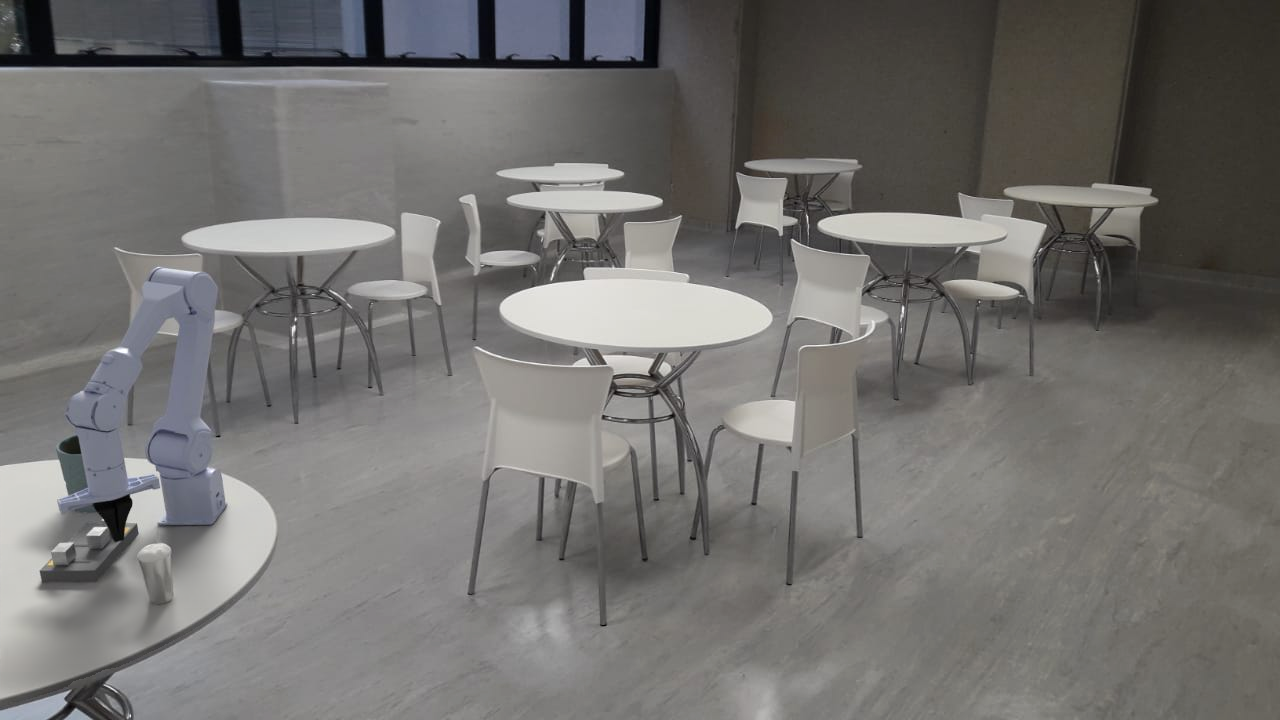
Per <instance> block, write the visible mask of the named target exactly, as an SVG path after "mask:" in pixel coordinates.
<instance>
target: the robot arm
mask: <svg viewBox="0 0 1280 720" xmlns="http://www.w3.org/2000/svg"><path fill="white" fill-rule="evenodd" d="M140 290H141V295H142V300H141V303H140V305H139V306H138V309H137V311H136V313H135V315H134V317H133V319H132V320H131V322H130V324H129V326H128V328H127V331H126V332H125V334H124V337H123V338H122V341H121V343H120V345H119V346H118V347H116V348H112V349H110V350H107V351H106V352H105V354H103V355H102V357H101V358H100V363H99V365H98V366H97V367H96V369H95V371H94V372H93V374H92V376H91V377H90V379H89V381H88V382H87V383H86V386H85V387H84V389H83V390H81V391H79V392H78V393H76V394H73V396H71V397H70V399H69V400H68V402H67V405H66V412H65V413H63V416H64V419H65V421H66V422H67V423H68V424H69V425H70V426H71V427H72V428H73V430H74V435H77V436H78V438H79V443H80V448H81V454H82V459H83V464H84V469H85V474H86V479H87V485H88V488H86V489H84V490H81V491H79V492H77V493H74V494H72V495H67V496H64V497H61V498H58V499H56V501H57V507H58V511H59V512H60V514H61V515H66V514H69V513H70V511H75V509H78V508H82V507H86V506H89V505H92V506H93V507H94V509H95V510H96V511H97V512H96V513H97V514H98V516H99V517H100V518H102V519H103V520H104V521H105V523H106V524H107V526H108V528H109V531H110V533H111V536H112V539H113V540H114V542H119V541H122V540H124V532H125V525H126V523H127V520H128V517H129V515H130V512H131V509H132V508H133V499H132V497H131V495H134V494H138V493H141V492H144V491H148V490H153V491H154V490H158V489H161V491H162V498H163V503H164V509H165V512H164V514H163V515H162V516H161V517H160V519H159V520H158V521H157V523H156V524H157V525H158V526H211V525H213V524H214V523H215V522H216V520H217V519H218V517H219V516H220V515H221V513H222V512H223V510H225V508H226V506H227V505H228V502H227V501H226V497H225V489H224V482H223V476H222V472H221V470H220V469H218V468H214V467H209V465H210V463H211V461H212V458H213V451H214V450H213V444H212V433H213V431H212V430H211V427H209V426H208V424H207V423H205V421H204V420H203V419H202V418H201V414H202V410H203V409H202V408H203V401H204V393H205V387H206V382H207V381H206V380H207V374H208V367H209V361H210V354H211V350H212V349H211V348H212V341H213V334H214V328H215V320H216V314H215V313H216V305H217V299H218V295H219V294H218V292H219V287H218V285H217V284H216V281H214V279H213V278H212V276H211V275H210V274H209V273H207V272H205V271H193V270H182V269H175V268H174V269H173V268H169V267H166V266H157V267H155V268H153V269H152V270H151V271H150V272H149V273H148V275H147V277H146V280H145V282H144V283H143V284H142V285H141V289H140ZM172 318H174V319H175V321H176V322H177V323H178V325H179V327H178V334H177V341H176V347H175V354H174V358H173V359H174V360H173V367H172V373H171V378H170V379H171V380H170V386H169V394H168V400H167V406H166V413H165V415H163V416H162V417H160V418H158V420H156V421H155V422H153V425H152V430H151V434H150V435H149V437H148V439H147V441H146V444H145V449H144V453H145V458H146V459H147V462H148V463H150V464H151V465H153V466H154V468H155V471H156V472H158V473H159V476H157V474H156V473H152V474H148V475H147V474H146V475H142V476H134V477H133V476H132V477H128V472H127V467H126V462H125V457H124V451H123V445H122V444H123V443H122V438H121V433H120V428H119V427H120V426H119V425H120V424H121V423H122V422H123V420H124V419H125V416H126V404H127V402H128V397H127V396H128V394H129V392H130V391H131V389H132V387H133V386H134V384H135V382H136V380H137V378H138V377H139V375H140V374H141V371H142V370H143V363H142V360H141V359H142V358H141V357H142V355H143V354H144V352H145V351H146V350H147V348H148V346H149V345H150V344H151V342H152V341H153V340H154V338H155V337H156V336H157V334H158V332H160V329H161V328H162V326H163V325H164V324H165V322H166V321H167V320H168V319H172ZM159 478H160V479H159ZM102 519H101V520H102Z"/></svg>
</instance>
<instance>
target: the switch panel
mask: <svg viewBox="0 0 1280 720" xmlns="http://www.w3.org/2000/svg"><path fill="white" fill-rule="evenodd" d="M94 527H102V522H99V523H98V522H91V523H90V522H87V523H85V524H84V525H83V526H82V527H81V528H80V529H79V530H78V531H77V532H76V533H75V534H74V535H73V536H72V537H71V538H70V539H69V540H68V541H67V542H66V543H74V545H75V550H76V555H77V556H76V557H75V558H74V559H73V560H72V561H71V562H70V563H69V564H68V565H53V560H52V557H51V559H49V560H48V562H46V564H45V565H43V566H42V567H41V569H40V570H39V575H40V580H41V582H42V583H45V582H46V583H49V582H51V583H53V582H54V583H55V582H57V583H58V582H62V583H65V582H68V583H69V582H72V583H73V582H75V583H76V582H78V583H79V582H84V583H85V582H94V583H95V582H98V581H99V580H100V579H101V578H102V576H103V575H104V574H105V573H106V572H107V570H108V569H109V568H110V567H111V566H112V565H113V564H114V563H115V562H116V561H117V559H118V558H119V557H120V556H121V555H122V553H123V552H124V551H125V550H126V549H127V548H128V547H129V545H130V544H131V543H132V542H133V541H134V540H135V538H136V537H137V536H138V535H139V528H138V522H126V525H125V532H124V540H122V541H119V542H114V540H113V539H112V536H111V533H109V536H110V541H109V542H108V543H107V544H106V545H105V546H104V547H103V548H102V549H88V544H87V539H86V535H87V534H88V533H89V532H90V531H91V530H92V529H93V528H94Z"/></svg>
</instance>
